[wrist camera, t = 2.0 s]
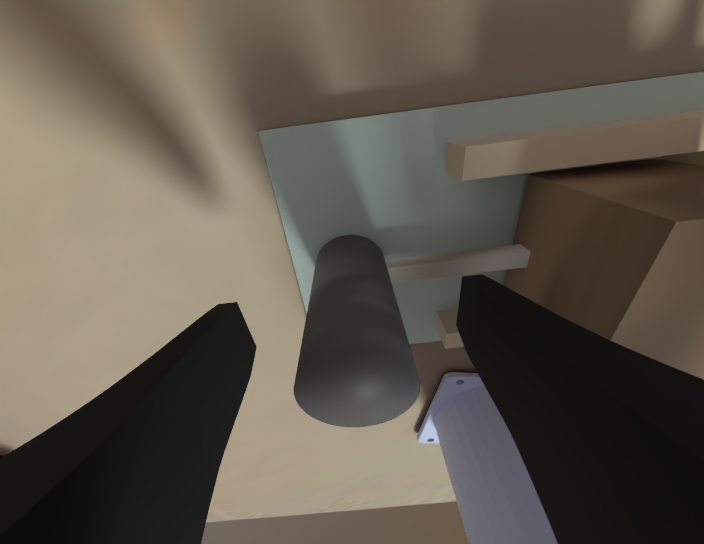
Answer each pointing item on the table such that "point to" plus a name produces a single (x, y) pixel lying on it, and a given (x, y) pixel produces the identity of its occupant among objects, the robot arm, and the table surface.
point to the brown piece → (521, 284)
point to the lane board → (462, 175)
